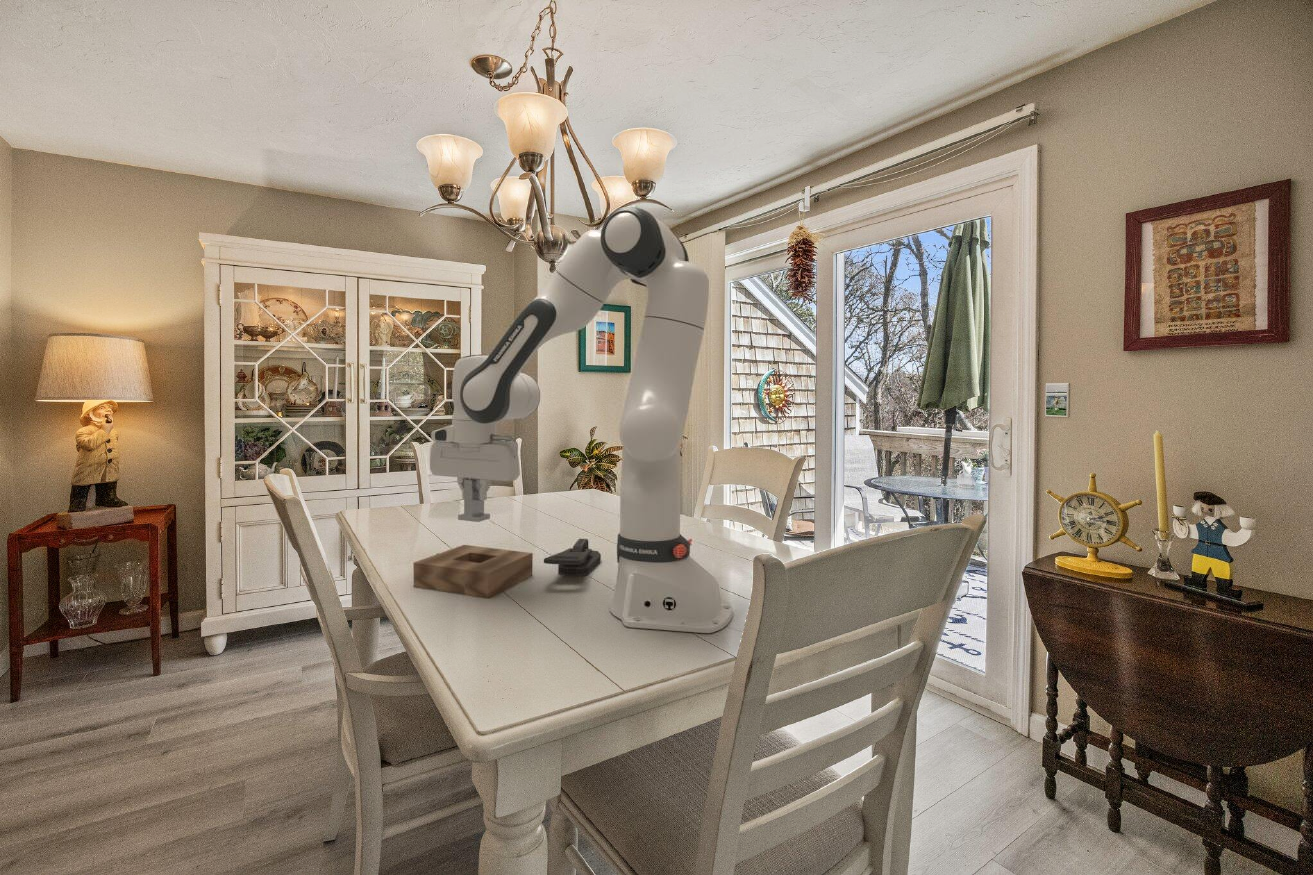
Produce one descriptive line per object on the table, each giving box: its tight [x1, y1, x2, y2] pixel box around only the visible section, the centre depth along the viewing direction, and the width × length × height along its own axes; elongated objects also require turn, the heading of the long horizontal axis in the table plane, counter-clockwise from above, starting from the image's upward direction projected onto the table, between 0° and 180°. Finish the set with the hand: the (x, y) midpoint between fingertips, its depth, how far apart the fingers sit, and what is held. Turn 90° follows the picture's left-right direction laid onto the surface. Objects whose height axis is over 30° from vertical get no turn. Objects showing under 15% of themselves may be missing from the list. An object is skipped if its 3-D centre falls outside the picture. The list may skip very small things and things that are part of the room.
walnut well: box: [413, 544, 534, 599], centre depth 128 cm, size 18×16×5 cm
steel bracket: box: [457, 478, 491, 523], centre depth 127 cm, size 5×4×8 cm
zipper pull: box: [543, 538, 602, 578], centre depth 135 cm, size 9×7×25 cm
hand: (474, 499), depth 127 cm, fingers closed on steel bracket, 2 cm apart
